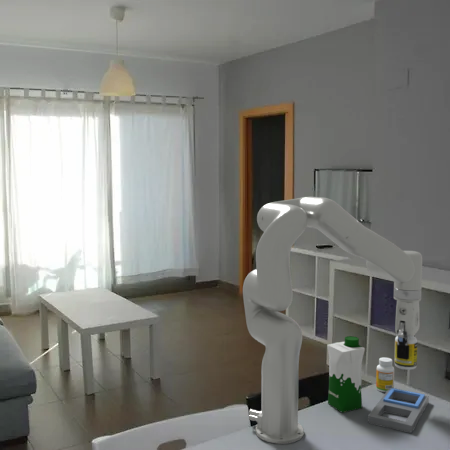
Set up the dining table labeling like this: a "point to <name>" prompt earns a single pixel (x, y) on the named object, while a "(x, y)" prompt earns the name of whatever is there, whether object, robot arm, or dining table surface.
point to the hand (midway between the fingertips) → (405, 354)
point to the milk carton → (345, 374)
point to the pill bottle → (412, 360)
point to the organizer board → (399, 409)
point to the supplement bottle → (384, 375)
